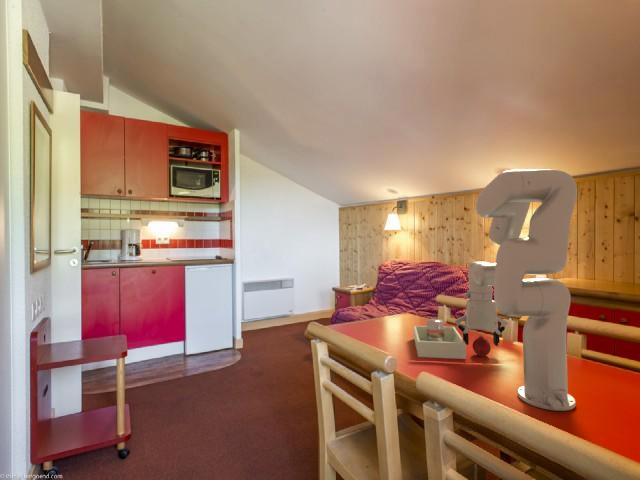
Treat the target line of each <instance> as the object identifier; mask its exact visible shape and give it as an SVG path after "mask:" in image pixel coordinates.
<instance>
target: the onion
mask: <svg viewBox="0 0 640 480" xmlns="http://www.w3.org/2000/svg"><path fill="white" fill-rule="evenodd" d="M491 349H492V347H491V343H490V342H489V340H488V339H486V338H485V337H484V335H483V334H479V336H478V337H477V338H475V339H474V340H473V342H472V350H473V352H474V353H475V354H476V355H477V356H478V357H482V358H483V357H486V356H487V355H489V353H490V352H491Z"/></svg>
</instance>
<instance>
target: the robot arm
mask: <svg viewBox="0 0 640 480" xmlns="http://www.w3.org/2000/svg"><path fill="white" fill-rule="evenodd" d="M577 198H578V186H577V184H576V181H575V179H574V177H573V176H572V175H571V174H569V173H568V172H566V171H563V170H559V169H551V168H550V169H549V168H548V169H544V168H543V169H538V168H536V169H511V170H509V169H508V170H505V171H502V172H501V173H499V174H498V175H497V176H496V177H494V178H493V179H492V180H491V181H490V182H489V183H488V184H487V185H486V186H484V188H483V189H482V190H481V192H480V193H479V195H478V196H477V199H476V204H475V206H476V207H475V209H476V212H477V214H478V215H479V217H481V218H483V219H484V218H487V219H488V218H489V219H490V218H491V219H492V220H491V222H490V227H489V230H488V233H487V234H488V239H490V241H492V242H493V243H494V244H496V245H499V247H498V249H497V251H496V255H495V256H496V257H495V262H492V263H491V262H488V261H479V260H478V261H477V260H476V261H471V262H470V263H469V264H468V291H467V292H464V297H465V298H467V299H466V303H465V312H464V313H465V314H464V315H463V316H460V317H457V318H455V319H454V322H455V324H456V326H457V328H458V329H459V330H460V331H461V332H462V339H463V340H464V342H465V343H466V346H467V345H468V346H469V333H468V332H469V331H470V330H478V331H479V330H480V331H482V330H483V331H494V332H493V333H492V334H493V335H492V337H493V338H492V339H493V341H492V343H493V344H494V346H496V347H499V344H500V335H501V333H503V332H504V331H505V329H506V327H507V325H508V323H509V322H508V321H507V320H505V319H503V318H501V317H499V316H498V312H499V313H500V314H501V315H503V316H506V317H527V319H526V320H525V323H524V325H523V329H522V351H523V354H522V357H523V360H522V361H523V385H521V386H520V387H519V388H518V389H517V397H518V398H520V400H522V401H523V402H524V403H527V404H528V405H530V406H533V407H536V408H540V409H543V410H547V411H555V412H557V411H558V412H567V411H571V410H573V409H574V408H575V407H576V405H577V404H576V399H575V398H574V397H573V396H572V395H571V394H569V392H568V391H569V390H568V389H569V388H568V353H567V352H568V350H567V348H568V347H567V341H568V340H567V326H568V325H567V322H568V316H569V312H570V307H571V292H570V290H569V288H568V286H567V285H566V284H565V283H563V282H562V281H560V280H558V279H555V278H551V277H550V278H549V277H540V278H539V277H537V278H535V277H534V278H533V277H532V278H531V277H530V278H525V276H536V275H539V276H540V275H552V274H553V275H554V274H558V273H561V272H562V271H564V269H565V268H566V265H567V259H568V253H569V252H568V251H569V241H570V230H571V220H572V215H573V213H574V209H575V206H576V203H577ZM531 203H541V204H540V205H539V206H538V207H537V208H536V209H535V211H534V212H533V213H532V215H531V216H530V220H529V225H528V226H529V228H528V235H527V237H520V236H521V233H522V230H523V227H524V224H525V221H526V218H527V215H528V214H529V209H530V206H531ZM493 288H494V289H493ZM493 299H494V300H493ZM462 322H464V323H465V325H464V326H462V325H461V323H462ZM499 323H501V324H500V325H499Z"/></svg>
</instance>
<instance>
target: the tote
mask: <svg viewBox="0 0 640 480" xmlns="http://www.w3.org/2000/svg"><path fill="white" fill-rule="evenodd" d="M413 340H414V344H415V349H416V353H417V357H418V358H432V359H433V358H435V359H436V358H437V359H438V358H439V359H455V360H457V359H461V360H467V345H466V343H465V342H464V340H463V336H461V335H460V332H458V330H457V329H456V327H455V326H444V342H434V341H427V325H413Z"/></svg>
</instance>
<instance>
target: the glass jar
mask: <svg viewBox="0 0 640 480" xmlns="http://www.w3.org/2000/svg"><path fill="white" fill-rule="evenodd" d="M444 322H445V321H444V320H443V319H440V318H427V319H426V326H427V341H434V342H444V327H445V325H444Z"/></svg>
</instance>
